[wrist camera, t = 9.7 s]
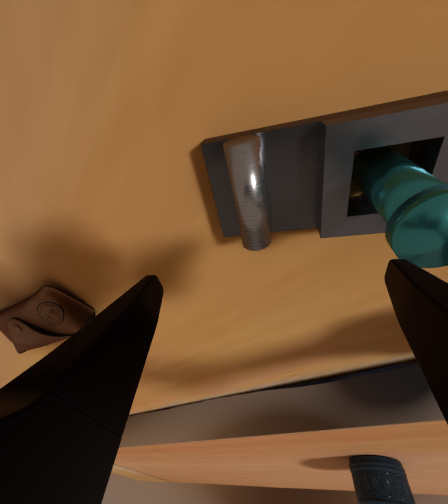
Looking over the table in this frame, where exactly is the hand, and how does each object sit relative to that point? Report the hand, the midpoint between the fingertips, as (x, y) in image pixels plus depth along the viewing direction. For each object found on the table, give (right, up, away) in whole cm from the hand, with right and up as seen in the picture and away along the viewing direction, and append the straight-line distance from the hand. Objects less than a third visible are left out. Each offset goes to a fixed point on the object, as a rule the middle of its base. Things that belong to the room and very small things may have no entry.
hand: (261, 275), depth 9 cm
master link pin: (+10, +7, +8) cm, 14 cm away
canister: (+39, -55, +54) cm, 86 cm away
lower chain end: (+6, +7, +9) cm, 13 cm away
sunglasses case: (-30, -7, +27) cm, 41 cm away
